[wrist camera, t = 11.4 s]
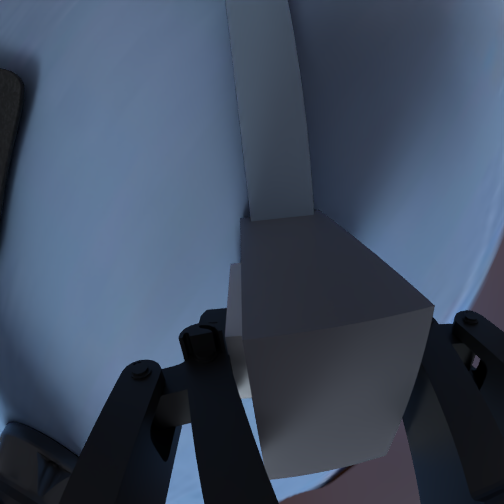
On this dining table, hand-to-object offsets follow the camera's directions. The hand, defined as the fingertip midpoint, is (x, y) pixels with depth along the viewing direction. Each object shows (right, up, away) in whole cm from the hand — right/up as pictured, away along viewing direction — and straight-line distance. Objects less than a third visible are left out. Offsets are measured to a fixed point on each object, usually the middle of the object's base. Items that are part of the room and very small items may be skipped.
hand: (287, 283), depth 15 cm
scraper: (-1, +11, -3) cm, 11 cm away
